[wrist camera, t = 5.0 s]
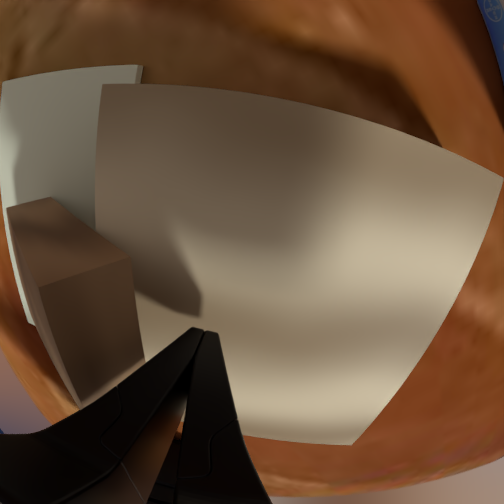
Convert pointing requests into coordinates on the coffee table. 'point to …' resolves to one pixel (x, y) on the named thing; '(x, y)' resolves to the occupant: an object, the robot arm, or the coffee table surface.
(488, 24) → the medicine box
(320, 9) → the coffee table surface
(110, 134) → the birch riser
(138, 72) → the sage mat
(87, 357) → the walnut tile
